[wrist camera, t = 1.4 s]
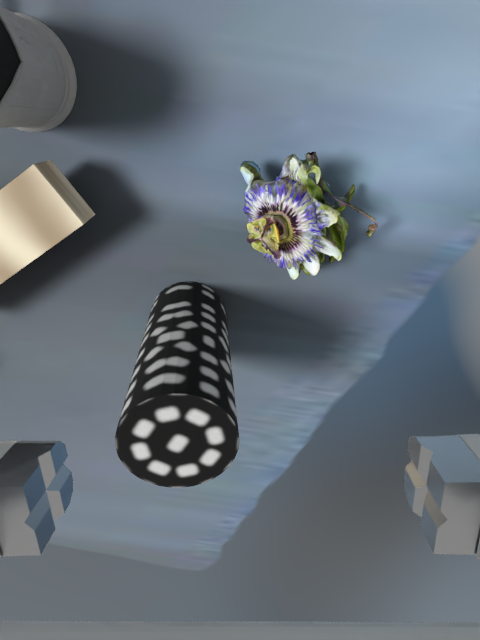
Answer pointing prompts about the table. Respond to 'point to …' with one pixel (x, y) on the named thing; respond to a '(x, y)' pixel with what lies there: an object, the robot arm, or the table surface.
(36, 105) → the electric kettle
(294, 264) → the passion flower
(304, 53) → the table surface
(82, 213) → the plank
